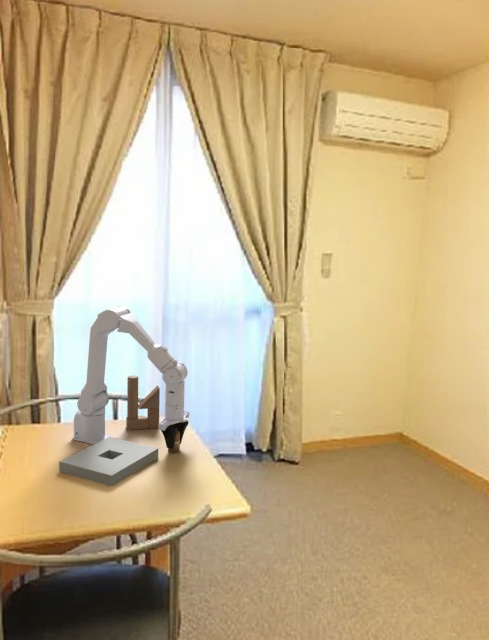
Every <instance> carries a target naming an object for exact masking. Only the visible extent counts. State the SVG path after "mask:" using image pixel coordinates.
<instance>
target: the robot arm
mask: <svg viewBox="0 0 489 640" xmlns="http://www.w3.org/2000/svg"><path fill="white" fill-rule="evenodd" d="M116 329H117V330H116ZM114 331H116V332H118V333H125V334H129V335H130V336H131V337H132V338H133V339H134V340H135V341H136V342H137V343H138V344H139V345H140V346H141V347H142V348H143V349H144V350H145V351H146V352H147V358H148V360H149V361H150V363H152V364H153V366H155V368H156V369H157V370H158V371H159V372H160V373H161V374H162V375H161V376H162V380H163V382H164V384H165V395H164V397H165V398H164V399H165V403H164V404H165V405H164V417H163V418H162V420H161V421H159V424H158V428H157V429H158V430H159V431H160V432H161V433H162V435H163V438H164V443H165V446H166V448H167V449H168V448H170V449H173V448H174V444H175V437H176V433H177V431H180V445H181V444H182V441H183V438H184V437H183V436H184V434H185V431H186V429H187V427H188V426H189V421H188V418H190V411H189V410H185V383H186V382H185V380H186V378H187V376H188V369H187V367H186V366H185V364H184V363H183V362H180V361H178V360H177V359H175V357H173V356H172V354H171V353H170V352H169V351H168V350H169V348H167V346H163V345H162V344H157V343H155V341H154V339H153V338H152V337H151V336H150V335H149V334H148V332H147V331H146V330H145V329H144V328H143V326H142V324H140V322H139V321H138V319H137V318H136V315H135V314H134V313H133V312H131V310H130V309H129V308H128V307H126V306H123V305H119V306H116V307H114V308H109V309H105V310H103V311H101V312H99V313H98V314H97V318H96V319H95V321H94V322H93V323H92V325H91V326H90V330H89V342H88V344H89V345H88V355H87V356H88V357H87V368H86V370H87V371H86V382H85V385H84V386H83V387H82V389H81V391H80V396H79V398H78V401H77V403H76V404H77V405H76V406H77V410H78V411H77V412H76V413H75V415H74V417H73V437H71V439H72V440H74V441H78V442H82V443H86V444H91V445H94V444H96V443H98V442H100V441H102V440H104V439H106V438H108V437H112V436H111V435H110V434H106V406H107V405H108V403H109V401H110V397H109V394H108V386H107V384H106V383H105V378H106V377H105V375H106V365H107V364H106V363H107V362H106V361H107V352H108V351H107V350H108V337H109V335H110V334H112V333H113V332H114Z"/></svg>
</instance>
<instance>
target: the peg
mask: <svg viewBox="0 0 489 640" xmlns="http://www.w3.org/2000/svg"><path fill="white" fill-rule="evenodd" d="M180 446H181V444H180V431H177V433H176V437H175V444H174V448H173V449H170V448H167V453H171V454H177V453H179V452H180V451H181V447H180Z"/></svg>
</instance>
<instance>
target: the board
mask: <svg viewBox="0 0 489 640" xmlns="http://www.w3.org/2000/svg"><path fill="white" fill-rule="evenodd" d="M157 459H159V448H158V447H154V446H151V445H146V444H142V443H141V444H140V443H138V442H132V441H130V440H129V441H128V440H125V439H120V438H116V437H112V436H111V437H108V438H106V439H104V440H102V441H100V442H98V443H96V444H91V445H90V446H88V447H86V448H84V449H82V450H80V451H78V452H76V453H74V454H72V455H70V456H68V457H65V458H64V459H62V460H60V461H59V464H58V467H59V470H58V471H59V472H60V473H64V474H66V475H69V474H70V475H69V476H74V477H77V478H81V479H85V480H87V481H88V480H89V481H91V482H94V483H98V484H103V485H106V486H109V487H112V486H114V485H116V484H117V483H119V482H122V481H123V480H125V479H126V478H128V477H129V476H131V475H132V474H134V473H136V472H138V471H139V470H141V469H142V468H144V467H146V466H148V465H149V464H151V463H153V462H154V461H155V460H157Z"/></svg>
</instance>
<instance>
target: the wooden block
mask: <svg viewBox="0 0 489 640" xmlns="http://www.w3.org/2000/svg"><path fill="white" fill-rule="evenodd" d="M126 381H127V382H126V383H127V386H126V387H127V390H126V391H127V394H126V395H127V402H126V404H127V409H126V410H127V411H126V412H127V413H126V414H127V415H126V421H125V422H126V423H125V424H126V425H125V426H126V429H127V431H130V430H133V431H134V430H144V429H150V430H151V429H158V424H159V423H160V406H161V405H160V401H161V400H160V399H161V398H160V396H161V395H160V393H161V392H160V391H161V389H160V386H159V385H156V386H155V387H154V389H152V390H151V391H150V393H149V394H147V395H146V396H145V397H144V398H143V399H142V400H141V401H140V403H139V376H138V375H128V376H127V380H126ZM144 409H146V410H147V416H145V415H139V410H144Z"/></svg>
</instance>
